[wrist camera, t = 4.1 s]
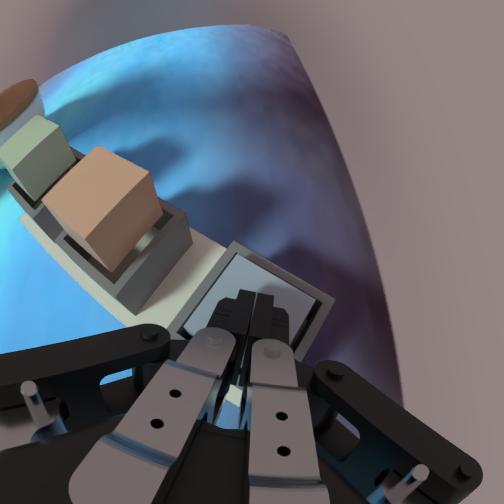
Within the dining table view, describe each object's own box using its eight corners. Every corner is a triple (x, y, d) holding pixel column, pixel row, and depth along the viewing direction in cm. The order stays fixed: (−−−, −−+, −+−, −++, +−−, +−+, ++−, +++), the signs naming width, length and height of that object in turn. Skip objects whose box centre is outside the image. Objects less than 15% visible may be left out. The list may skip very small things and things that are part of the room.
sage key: (15, 181, 17) (-5, 152, 14) (52, 145, 19) (36, 114, 16) (35, 201, 16) (12, 169, 13) (76, 160, 18) (59, 125, 15)
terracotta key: (68, 234, 15) (41, 199, 12) (115, 184, 17) (97, 145, 14) (112, 272, 14) (84, 239, 11) (163, 213, 16) (149, 171, 13)
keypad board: (26, 227, 21) (-1, 195, 17) (81, 169, 25) (63, 132, 20) (256, 416, 16) (262, 423, 12) (318, 312, 19) (342, 285, 15)
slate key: (194, 341, 16) (183, 326, 13) (237, 281, 18) (237, 253, 15) (261, 384, 15) (267, 380, 12) (301, 319, 17) (315, 299, 14)
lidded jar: (45, 115, 30) (23, 63, 22) (68, 140, 27) (40, 75, 19) (-12, 162, 26) (-42, 114, 18) (-2, 200, 23) (-43, 143, 15)
